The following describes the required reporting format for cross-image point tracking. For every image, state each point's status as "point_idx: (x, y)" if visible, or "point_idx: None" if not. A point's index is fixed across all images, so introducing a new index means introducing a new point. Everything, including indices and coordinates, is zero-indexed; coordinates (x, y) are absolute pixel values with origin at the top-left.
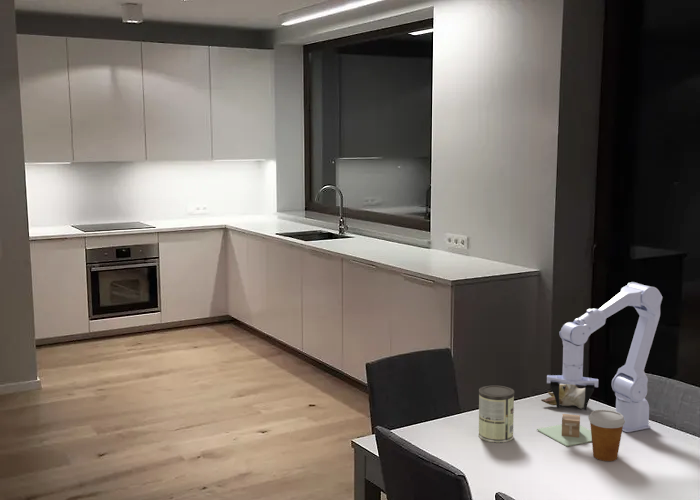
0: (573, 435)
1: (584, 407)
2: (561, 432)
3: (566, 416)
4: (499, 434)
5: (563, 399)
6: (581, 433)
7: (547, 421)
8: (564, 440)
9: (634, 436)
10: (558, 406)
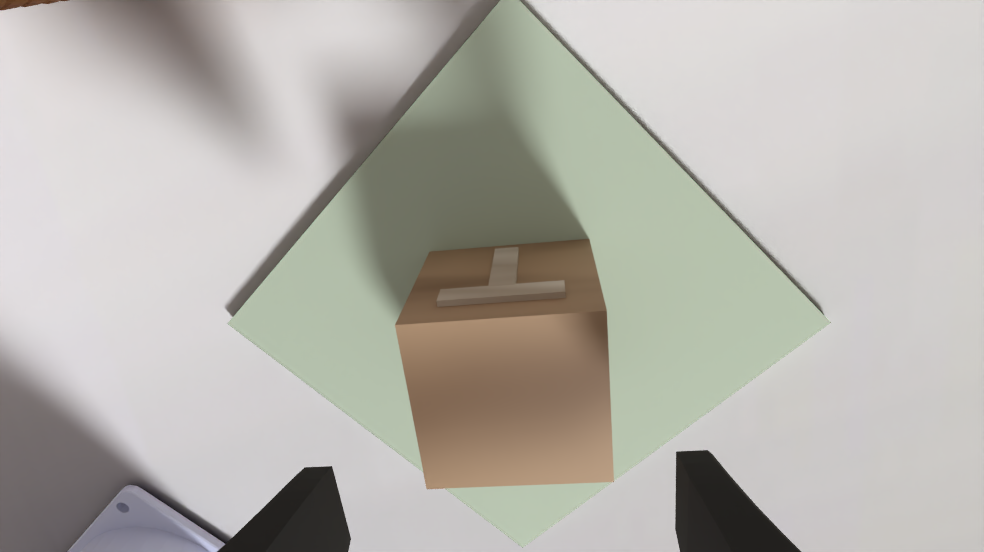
0: (479, 253)
1: (305, 489)
2: None
3: (564, 419)
4: None
5: None
6: None
7: None
8: (549, 124)
9: (68, 438)
10: (693, 462)
